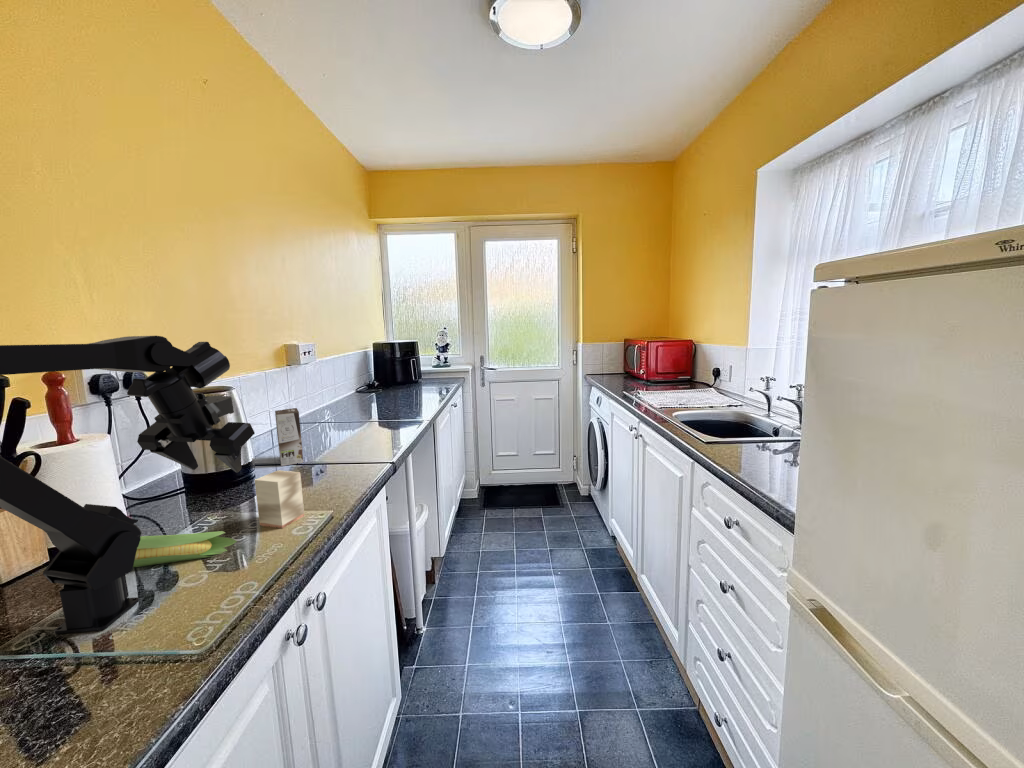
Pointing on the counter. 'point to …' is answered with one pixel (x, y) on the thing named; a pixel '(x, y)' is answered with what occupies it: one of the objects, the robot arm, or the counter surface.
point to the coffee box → (289, 436)
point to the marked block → (279, 498)
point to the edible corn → (179, 547)
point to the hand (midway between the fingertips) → (217, 469)
